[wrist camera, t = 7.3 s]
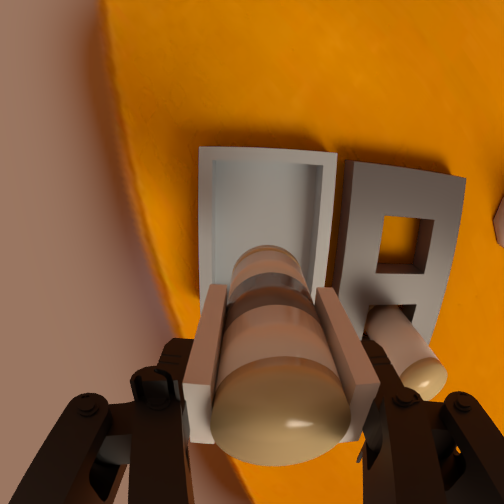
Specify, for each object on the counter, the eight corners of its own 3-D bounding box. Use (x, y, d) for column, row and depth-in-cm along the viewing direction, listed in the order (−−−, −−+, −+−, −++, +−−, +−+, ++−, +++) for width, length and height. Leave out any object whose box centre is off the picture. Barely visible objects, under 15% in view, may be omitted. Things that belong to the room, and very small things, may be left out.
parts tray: (205, 146, 25) (198, 146, 22) (328, 152, 25) (337, 153, 22) (205, 303, 29) (200, 319, 27) (313, 306, 30) (318, 323, 27)
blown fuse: (232, 243, 18) (206, 377, 7) (304, 246, 18) (365, 376, 7) (231, 307, 19) (213, 464, 9) (298, 309, 19) (335, 462, 9)
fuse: (364, 297, 29) (410, 368, 19) (401, 297, 29) (454, 362, 19) (357, 332, 31) (393, 408, 20) (392, 331, 31) (436, 401, 20)
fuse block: (345, 159, 25) (354, 161, 23) (451, 174, 25) (466, 178, 23) (317, 368, 32) (321, 383, 30) (408, 362, 32) (417, 375, 30)
